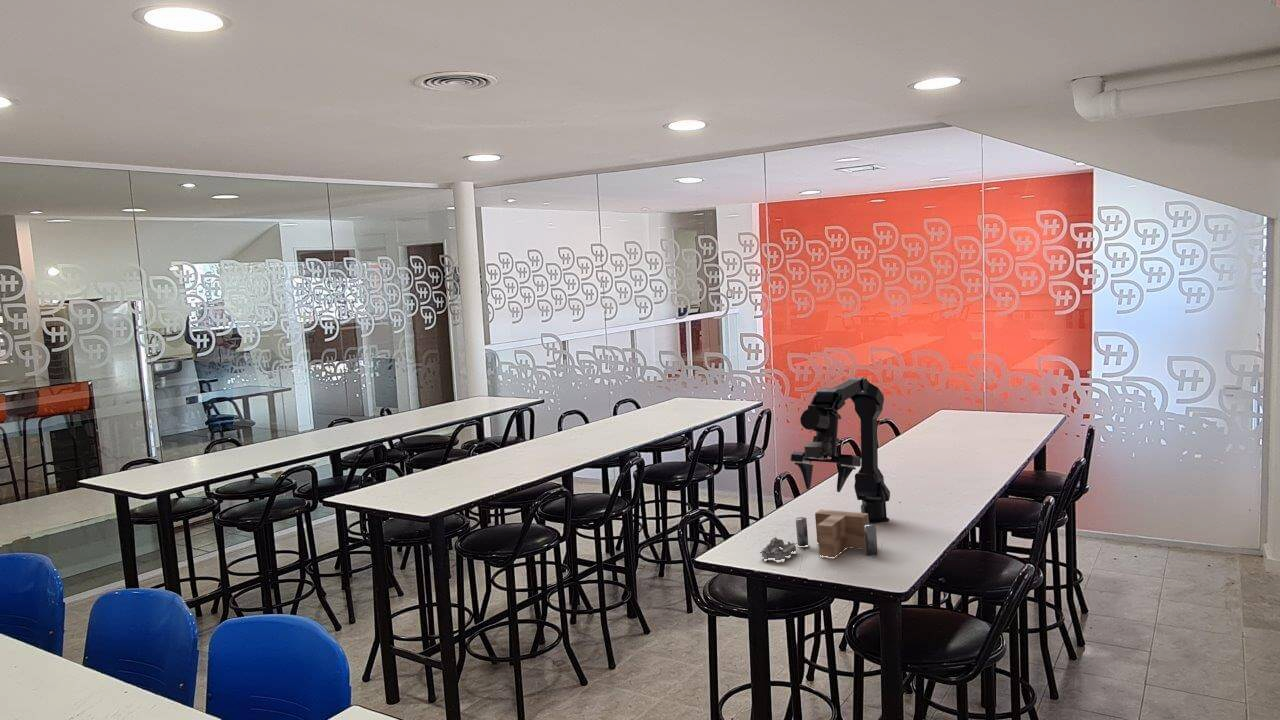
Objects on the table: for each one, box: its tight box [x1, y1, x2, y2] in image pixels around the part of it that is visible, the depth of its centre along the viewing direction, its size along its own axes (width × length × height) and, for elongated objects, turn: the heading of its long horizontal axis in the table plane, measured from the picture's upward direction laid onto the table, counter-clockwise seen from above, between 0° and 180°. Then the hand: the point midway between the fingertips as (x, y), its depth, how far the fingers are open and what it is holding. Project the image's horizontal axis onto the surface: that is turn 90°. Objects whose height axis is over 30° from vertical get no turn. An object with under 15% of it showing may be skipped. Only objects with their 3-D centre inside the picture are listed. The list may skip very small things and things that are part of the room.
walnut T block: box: [814, 509, 869, 557], centre depth 234 cm, size 14×14×9 cm
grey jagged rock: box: [759, 536, 798, 560], centre depth 234 cm, size 11×8×4 cm
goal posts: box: [795, 516, 879, 556], centre depth 234 cm, size 3×23×8 cm, turn 55°
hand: (823, 490), depth 234 cm, fingers open, 9 cm apart
